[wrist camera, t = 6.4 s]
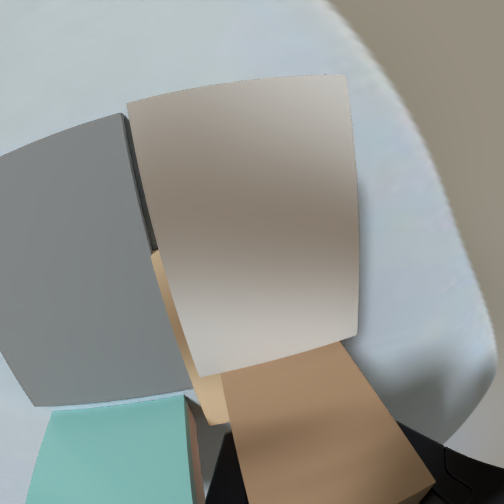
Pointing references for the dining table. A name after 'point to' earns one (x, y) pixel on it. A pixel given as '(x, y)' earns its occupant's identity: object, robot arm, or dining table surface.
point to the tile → (120, 456)
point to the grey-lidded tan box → (274, 281)
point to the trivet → (81, 273)
